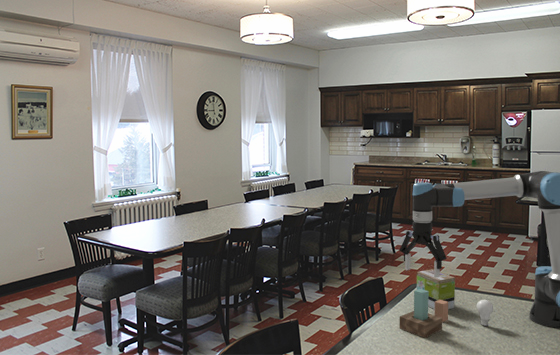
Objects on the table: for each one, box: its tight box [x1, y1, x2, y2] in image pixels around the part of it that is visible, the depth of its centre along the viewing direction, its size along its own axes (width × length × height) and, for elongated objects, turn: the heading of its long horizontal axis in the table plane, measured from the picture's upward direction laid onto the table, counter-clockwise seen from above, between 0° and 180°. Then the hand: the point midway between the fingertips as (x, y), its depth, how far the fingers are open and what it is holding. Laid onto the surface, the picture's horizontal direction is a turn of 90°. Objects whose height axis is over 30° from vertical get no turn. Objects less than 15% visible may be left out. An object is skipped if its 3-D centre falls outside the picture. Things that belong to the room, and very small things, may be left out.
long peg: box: [413, 289, 429, 321], centre depth 188 cm, size 4×4×16 cm
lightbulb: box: [476, 298, 494, 327], centre depth 191 cm, size 6×6×11 cm
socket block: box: [399, 310, 443, 339], centre depth 188 cm, size 12×12×5 cm
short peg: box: [434, 300, 449, 323], centre depth 198 cm, size 4×4×8 cm
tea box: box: [416, 268, 456, 310], centre depth 215 cm, size 15×10×15 cm, turn 25°
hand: (422, 273), depth 187 cm, fingers open, 13 cm apart
